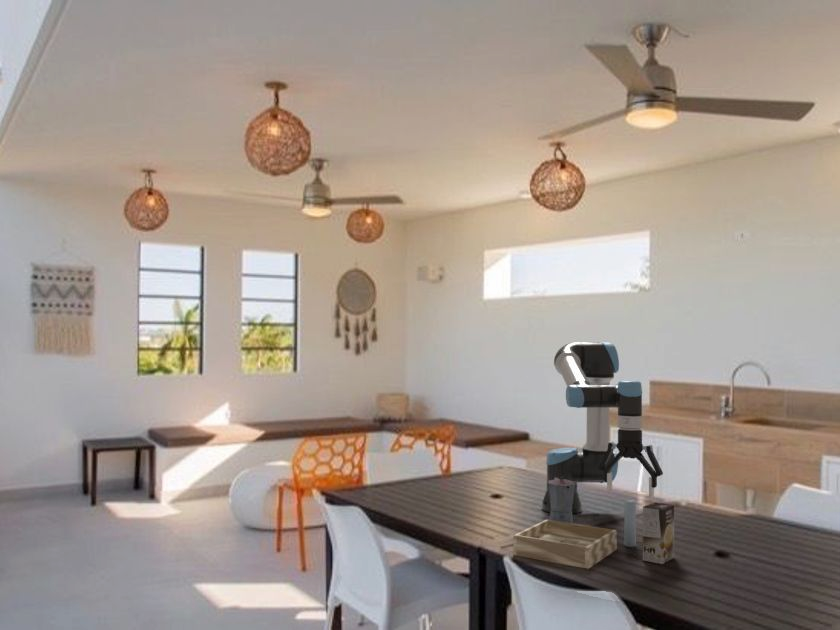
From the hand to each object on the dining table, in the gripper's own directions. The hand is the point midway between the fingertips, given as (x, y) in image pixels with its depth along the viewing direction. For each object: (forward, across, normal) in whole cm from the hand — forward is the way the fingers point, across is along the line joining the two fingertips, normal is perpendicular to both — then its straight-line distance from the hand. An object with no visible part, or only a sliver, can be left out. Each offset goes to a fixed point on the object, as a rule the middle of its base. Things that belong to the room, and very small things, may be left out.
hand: (630, 495), depth 243 cm
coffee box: (+16, +12, -10) cm, 22 cm away
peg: (+16, 0, 0) cm, 16 cm away
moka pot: (+16, -25, +2) cm, 30 cm away
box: (+16, -14, -19) cm, 28 cm away
